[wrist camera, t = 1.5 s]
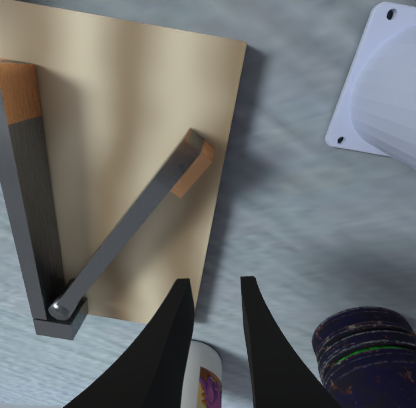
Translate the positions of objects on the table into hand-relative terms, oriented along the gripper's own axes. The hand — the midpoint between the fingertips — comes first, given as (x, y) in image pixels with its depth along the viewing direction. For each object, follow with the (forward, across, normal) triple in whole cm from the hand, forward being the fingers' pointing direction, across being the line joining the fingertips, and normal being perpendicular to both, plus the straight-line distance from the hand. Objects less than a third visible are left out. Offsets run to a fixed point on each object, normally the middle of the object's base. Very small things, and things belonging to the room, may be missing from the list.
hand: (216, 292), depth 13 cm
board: (+9, +8, -1) cm, 12 cm away
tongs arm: (+8, +7, +1) cm, 11 cm away
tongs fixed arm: (+8, +13, -1) cm, 15 cm away
